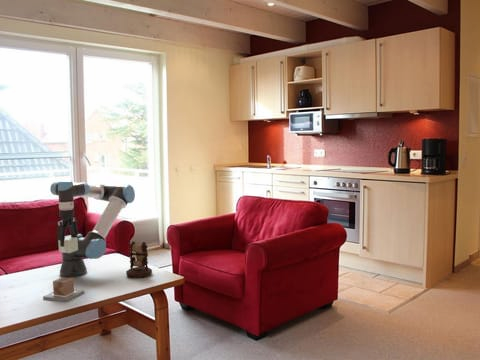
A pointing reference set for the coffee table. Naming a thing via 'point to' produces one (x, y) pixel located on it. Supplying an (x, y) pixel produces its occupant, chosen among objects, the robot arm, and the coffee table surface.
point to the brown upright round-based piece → (138, 260)
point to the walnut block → (63, 286)
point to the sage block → (70, 244)
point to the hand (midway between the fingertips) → (68, 250)
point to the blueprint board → (63, 298)
